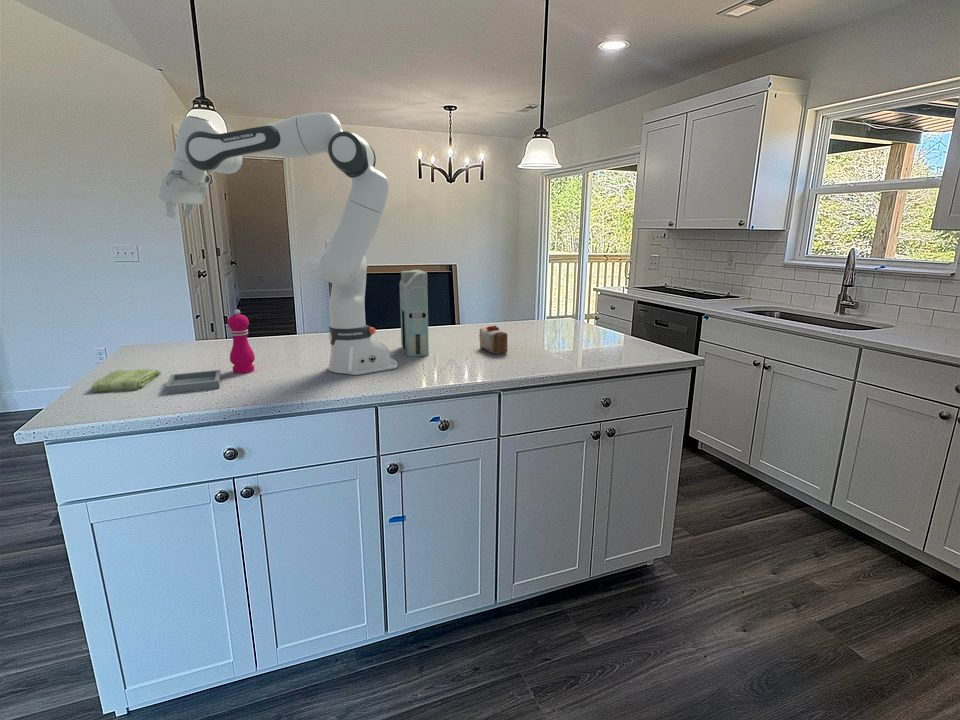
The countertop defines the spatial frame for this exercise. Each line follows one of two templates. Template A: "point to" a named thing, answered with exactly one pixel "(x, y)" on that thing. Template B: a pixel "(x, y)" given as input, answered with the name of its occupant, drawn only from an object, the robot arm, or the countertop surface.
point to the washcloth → (125, 380)
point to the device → (414, 312)
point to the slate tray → (193, 381)
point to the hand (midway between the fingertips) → (178, 217)
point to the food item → (493, 340)
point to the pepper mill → (240, 344)
